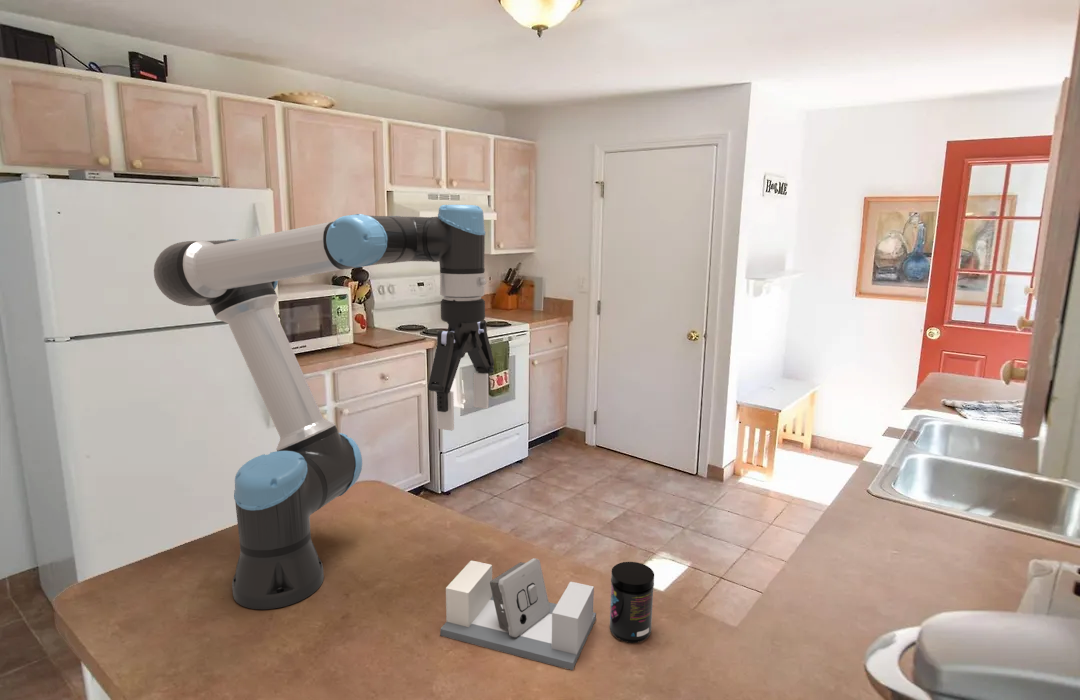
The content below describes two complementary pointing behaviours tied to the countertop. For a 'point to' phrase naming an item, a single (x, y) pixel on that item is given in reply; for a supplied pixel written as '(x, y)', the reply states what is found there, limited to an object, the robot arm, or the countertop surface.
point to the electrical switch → (520, 597)
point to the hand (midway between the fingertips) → (464, 417)
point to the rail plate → (543, 641)
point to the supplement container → (631, 601)
